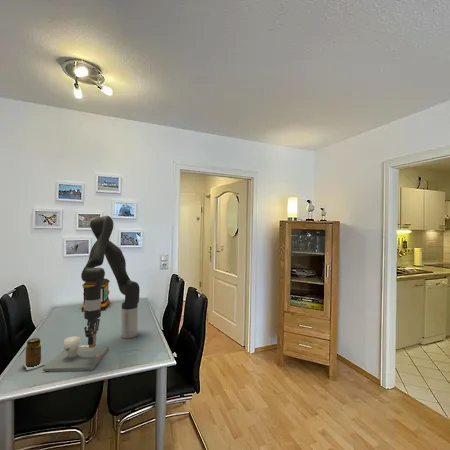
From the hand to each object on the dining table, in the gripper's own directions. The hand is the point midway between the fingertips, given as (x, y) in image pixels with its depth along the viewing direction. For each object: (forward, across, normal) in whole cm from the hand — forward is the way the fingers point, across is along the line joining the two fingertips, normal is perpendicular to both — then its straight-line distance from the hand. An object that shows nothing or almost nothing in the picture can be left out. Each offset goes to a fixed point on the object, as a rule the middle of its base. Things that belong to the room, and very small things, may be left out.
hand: (92, 342), depth 139 cm
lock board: (+9, -1, -7) cm, 11 cm away
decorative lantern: (+7, -91, -31) cm, 97 cm away
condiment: (+9, +3, -26) cm, 27 cm away
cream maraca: (+4, -1, -6) cm, 7 cm away
